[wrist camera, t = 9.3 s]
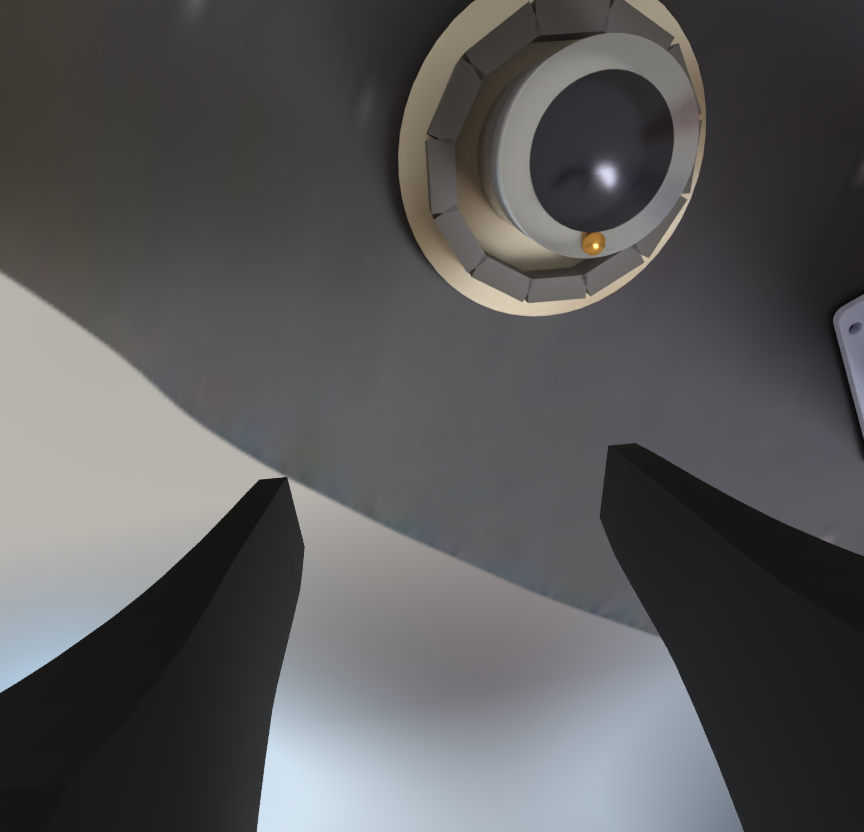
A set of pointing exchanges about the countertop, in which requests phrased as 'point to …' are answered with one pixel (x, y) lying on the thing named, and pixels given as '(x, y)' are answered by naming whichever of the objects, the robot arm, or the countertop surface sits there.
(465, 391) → the countertop surface
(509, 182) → the lens
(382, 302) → the countertop surface
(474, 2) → the mount
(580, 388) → the countertop surface
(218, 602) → the robot arm
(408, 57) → the countertop surface
